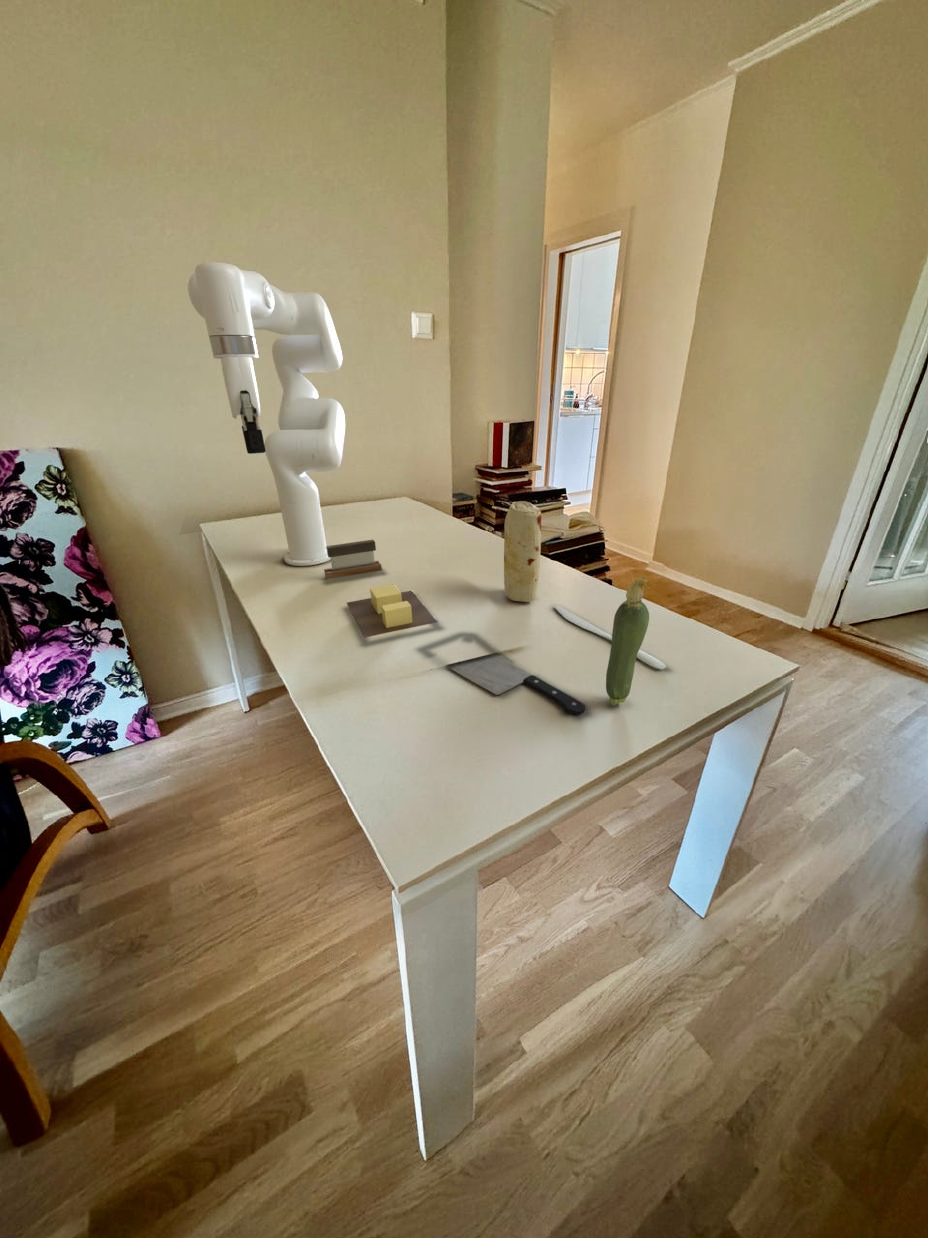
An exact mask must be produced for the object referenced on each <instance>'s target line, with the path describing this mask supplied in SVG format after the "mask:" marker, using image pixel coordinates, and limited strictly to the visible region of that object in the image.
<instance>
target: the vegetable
mask: <svg viewBox="0 0 928 1238" xmlns="http://www.w3.org/2000/svg"><path fill="white" fill-rule="evenodd" d="M649 582H650V581H648V578H647V577H646V576H644V577H639V578H636V579H635V580H634V581H633V582H632V583H631V584H630V585H629V586H628V588H627V591H626V592H625V599H626V600H625V601H623V602H622V603H621V604H620V605H619V606H618V607H617V609H616V611H615V613H614V618H613V625H612V631H611V633H612V634H611V636H612V641H611V645H610V651H609V658H608V662H607V663H608V664H607V668H606V674H605V690H606V694H607V696H608V697H609V701H610V703H611V706H615V705H617V704H622V703H625V702H626V700H627V699H626V698H628V696H629V695H630V693H631V689H632V683H633V679H634V673H635V668H636V667H635V666H636V661H637V654H638V651H639V650H641V647H642V645H643V643H644V640H645V636H646V634H647V632H648V631H647V630H648V627H649V622H650V612H649V609H648V607H647V606H646V604H645V603H644V602H643V601H642V600H643V596H644V590H648V585H647V583H649Z"/></svg>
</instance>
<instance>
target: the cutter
mask: <svg viewBox="0 0 928 1238" xmlns="http://www.w3.org/2000/svg"><path fill="white" fill-rule="evenodd" d="M376 546H377V545H376V541H375V540H374V539H368V540H367V539H366V540H361V541H360V540H359V541H354V542H346V543H340V544H331V545H326V549H327V555H328V557H330V558H331V559H330V564H331V568H332V571H336V570H342V569H349V568H355V567H361V566H367V565H374V564H375V561H376V560H375V553H374V551H377V547H376Z"/></svg>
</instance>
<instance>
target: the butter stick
mask: <svg viewBox="0 0 928 1238" xmlns="http://www.w3.org/2000/svg"><path fill="white" fill-rule="evenodd" d="M369 592H370V598H371V602H372V605H373V607H374V608H375V610H376V612H377V613H378V614H380V613H382V608H381V606H383V605H388V604H393V603H398V602H402V599H401V591H400V590H399V589H398V587H397V586H396V585H395V584H394V583H393V584H386V585H382V586H376V587H371V588H369Z"/></svg>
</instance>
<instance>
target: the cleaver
mask: <svg viewBox="0 0 928 1238" xmlns="http://www.w3.org/2000/svg"><path fill="white" fill-rule="evenodd" d="M445 667H447V668H449V669H450V670H452V671H453V672H455V673H457V674H459V675H460V676H462V677H463V678H465V679H466V680H469V681H471V682H472V683H474V684H476V685H478V686H480V687H482V688H483V689H485V690H487V691H489V692H491V693H493V694H494V695H496V696H498V695H501V694H503V693H505V692H507V691H509V690H511V689H513V688H515V687H517V686H519V685H521V684H523V683H524V684H526V685H528V686H530V687H532V688H533V689H535V690H537V691H539V692H541V693H542V694H544V695H545V696H547V697H549V698H551V699H552V700H554V701H555V702H556V703H557V704H559V705H560V706H561V707H562V708H563V710H564V711H565V712H566V713H570V714H573V715H581V714H583V713H584V712H585V711H586V705H585V704H584V702H582V701H580V700H578V699H576V698H574V697H573V696H571V695H569V694H567V693H566V692H564V691H562V690H560V689H559V688H557V687H555V686H553V685H551V684H549V683H547V682H546V681H545V680H543V679H541V678H540V677H537V676H536V675H534V674H531V673H530V672H528V671H526V670H524V669H523V668H522V667H519V666H518V665H516V664H515V663H513V662H511V661H510V660H508V659H507V658H506V657H504V656H503V655H501V654H500V653H498V652H493V653H489V654H485V655H481V656H477V657H474V658H468V659H465V660H460V661H457V662H453V663H448V664H445Z"/></svg>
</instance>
